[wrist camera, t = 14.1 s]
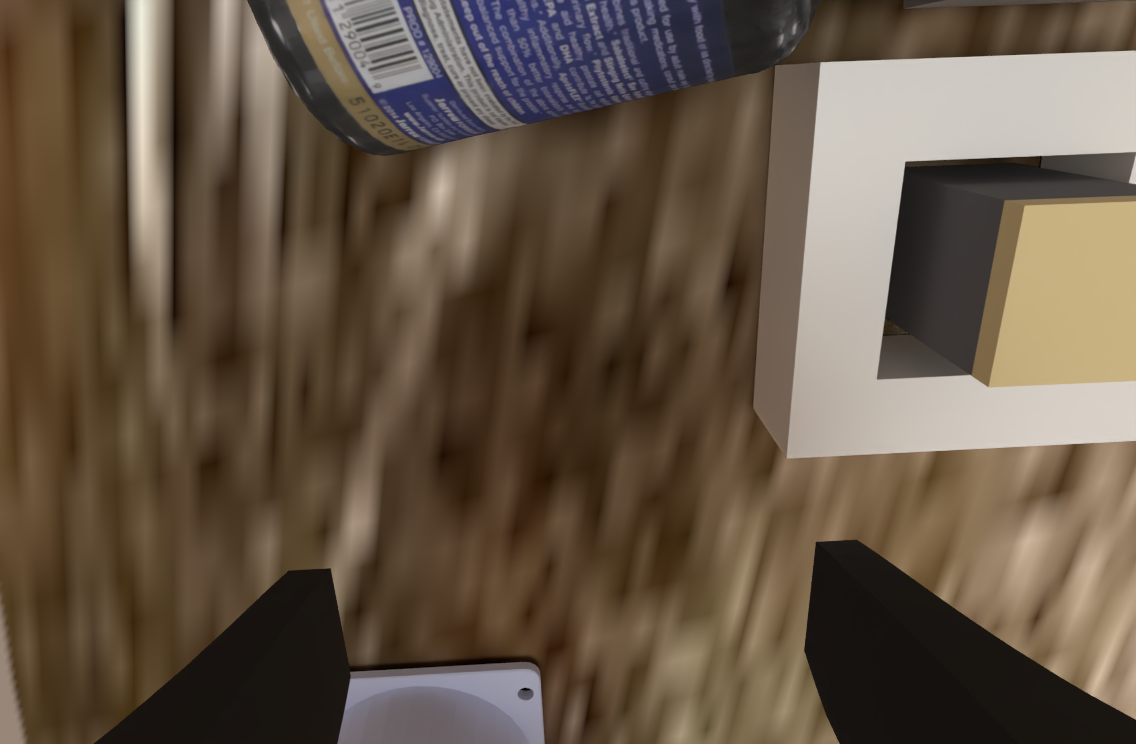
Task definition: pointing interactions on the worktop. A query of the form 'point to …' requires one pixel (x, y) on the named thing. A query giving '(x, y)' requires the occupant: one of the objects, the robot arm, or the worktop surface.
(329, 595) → the robot arm
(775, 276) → the socket
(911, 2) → the grey square block
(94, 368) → the worktop surface
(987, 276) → the plug
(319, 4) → the pill bottle
